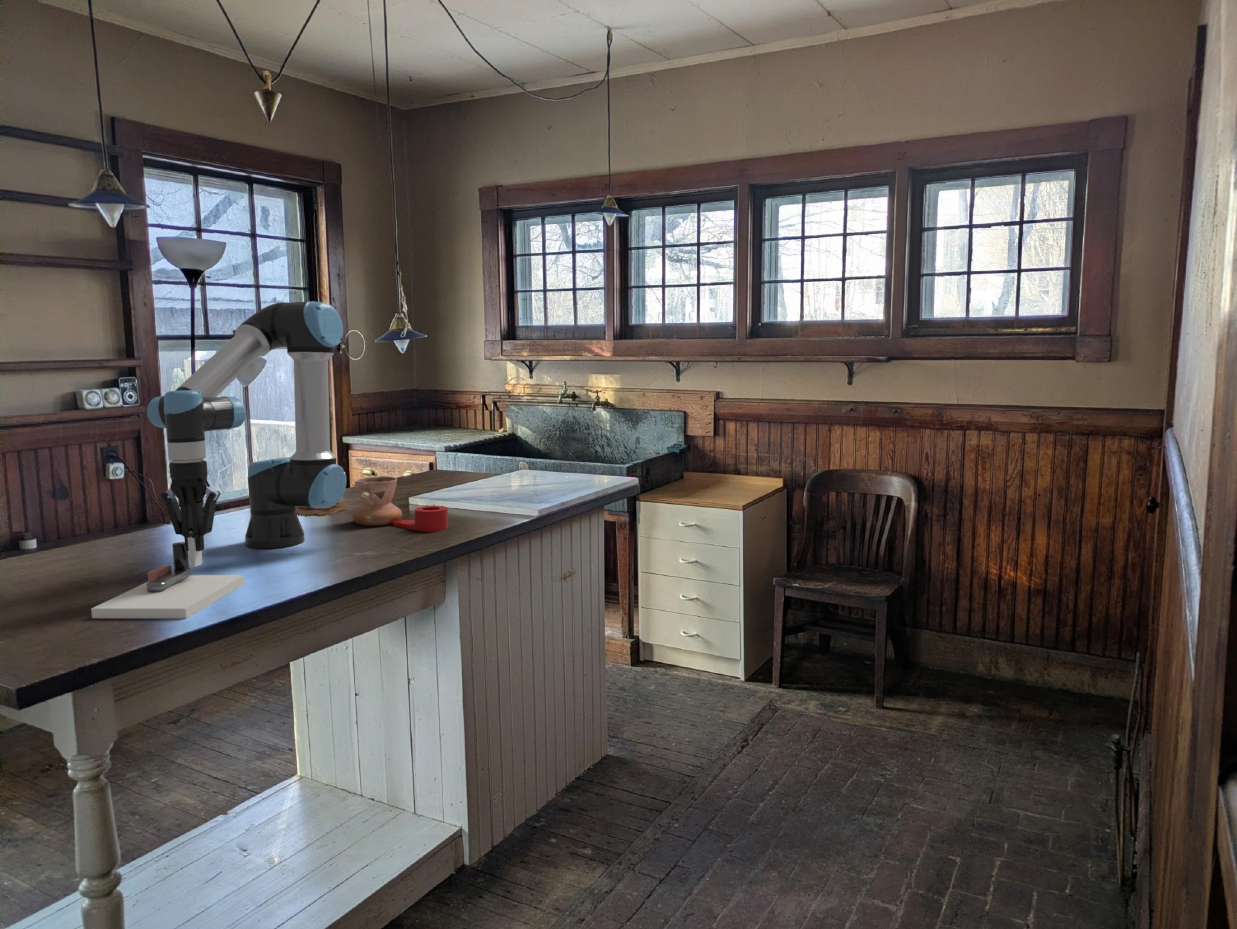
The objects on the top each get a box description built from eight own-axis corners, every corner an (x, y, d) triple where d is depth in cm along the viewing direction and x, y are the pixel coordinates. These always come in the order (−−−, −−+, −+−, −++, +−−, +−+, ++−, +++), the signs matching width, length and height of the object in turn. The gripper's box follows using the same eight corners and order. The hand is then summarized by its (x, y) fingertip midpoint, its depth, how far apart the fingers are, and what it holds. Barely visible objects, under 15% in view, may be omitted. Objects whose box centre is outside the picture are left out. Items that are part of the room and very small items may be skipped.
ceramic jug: (388, 531, 258) (386, 483, 256) (342, 530, 260) (339, 482, 258) (413, 520, 275) (411, 474, 273) (369, 518, 278) (367, 474, 276)
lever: (454, 529, 262) (453, 506, 261) (436, 535, 253) (436, 512, 252) (403, 525, 268) (402, 503, 267) (384, 531, 259) (383, 508, 259)
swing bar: (160, 591, 186) (157, 556, 185) (143, 591, 186) (140, 556, 185) (193, 574, 201) (191, 542, 200) (177, 574, 201) (175, 542, 200)
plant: (320, 508, 299) (319, 475, 298) (364, 512, 290) (363, 478, 289) (273, 518, 282) (271, 483, 280) (318, 523, 273) (316, 487, 271)
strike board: (162, 583, 201) (160, 562, 201) (244, 583, 201) (243, 562, 200) (92, 618, 176) (89, 593, 175) (186, 618, 175) (184, 593, 175)
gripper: (224, 458, 198) (232, 561, 201) (170, 458, 199) (179, 561, 202) (205, 462, 191) (214, 569, 193) (149, 462, 192) (158, 569, 195)
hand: (196, 565), depth 198 cm, fingers closed
